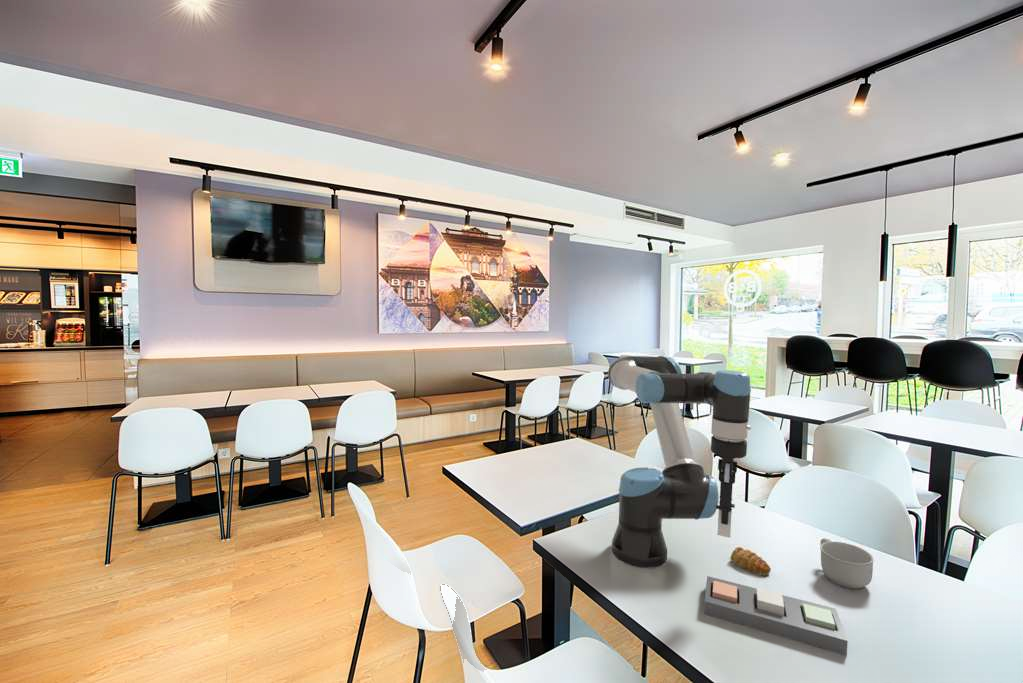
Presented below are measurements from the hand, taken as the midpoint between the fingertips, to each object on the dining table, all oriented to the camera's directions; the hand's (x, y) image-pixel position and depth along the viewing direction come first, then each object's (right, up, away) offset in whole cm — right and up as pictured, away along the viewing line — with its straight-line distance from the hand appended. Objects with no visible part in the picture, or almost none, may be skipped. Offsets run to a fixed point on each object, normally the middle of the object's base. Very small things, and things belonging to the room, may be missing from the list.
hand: (723, 534), depth 104 cm
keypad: (+7, -16, -6) cm, 18 cm away
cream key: (+7, -14, -6) cm, 17 cm away
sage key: (+15, -15, -10) cm, 23 cm away
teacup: (+35, -16, +10) cm, 40 cm away
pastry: (+14, -15, +15) cm, 26 cm away
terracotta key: (-1, -14, -2) cm, 14 cm away
